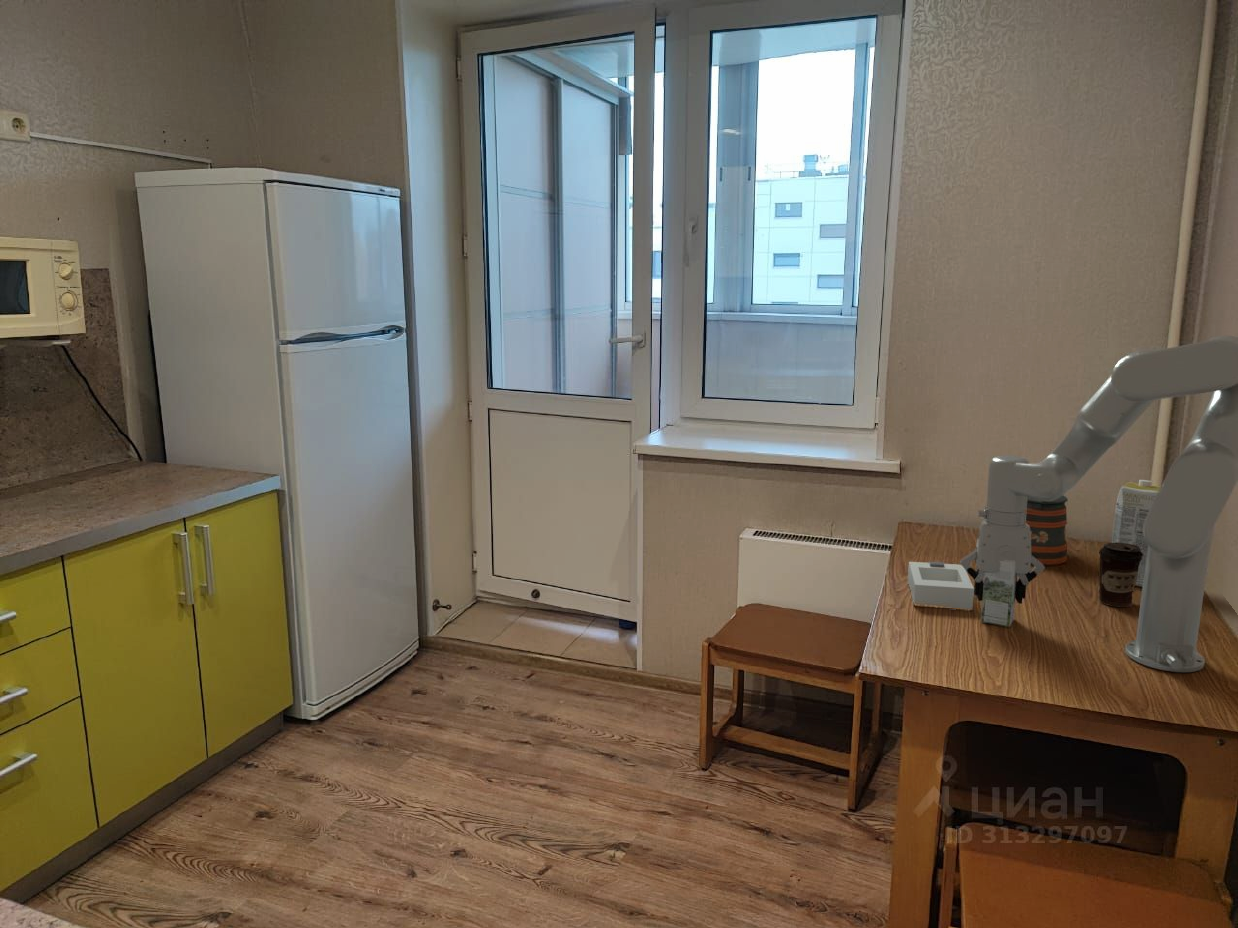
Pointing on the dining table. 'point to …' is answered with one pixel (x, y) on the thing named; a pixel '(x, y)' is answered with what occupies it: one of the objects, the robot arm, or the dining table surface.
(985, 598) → the syrup box
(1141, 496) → the juice carton
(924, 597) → the socket block
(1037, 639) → the dining table surface
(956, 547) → the dining table surface
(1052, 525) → the beer stein
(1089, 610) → the dining table surface
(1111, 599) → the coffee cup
